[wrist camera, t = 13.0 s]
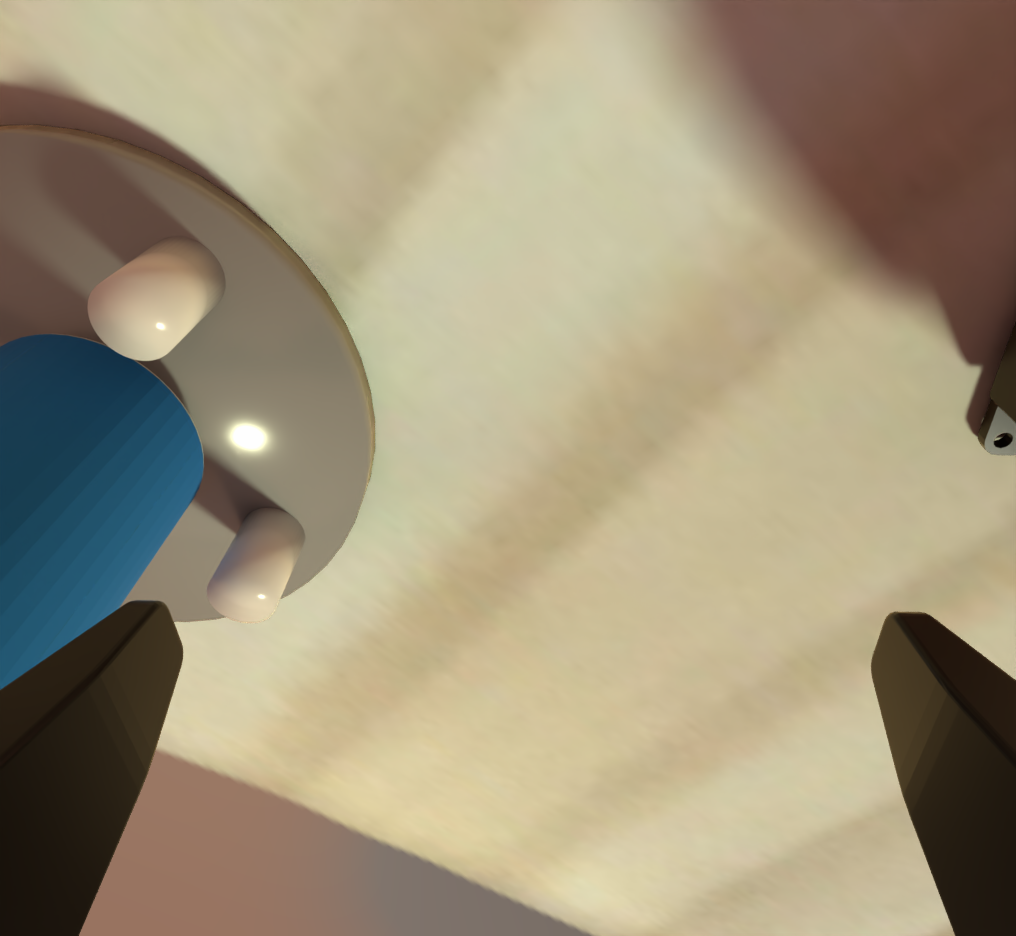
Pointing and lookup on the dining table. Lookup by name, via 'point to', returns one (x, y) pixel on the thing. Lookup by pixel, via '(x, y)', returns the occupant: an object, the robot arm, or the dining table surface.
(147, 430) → the beverage can
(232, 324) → the peg stand
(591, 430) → the dining table surface
